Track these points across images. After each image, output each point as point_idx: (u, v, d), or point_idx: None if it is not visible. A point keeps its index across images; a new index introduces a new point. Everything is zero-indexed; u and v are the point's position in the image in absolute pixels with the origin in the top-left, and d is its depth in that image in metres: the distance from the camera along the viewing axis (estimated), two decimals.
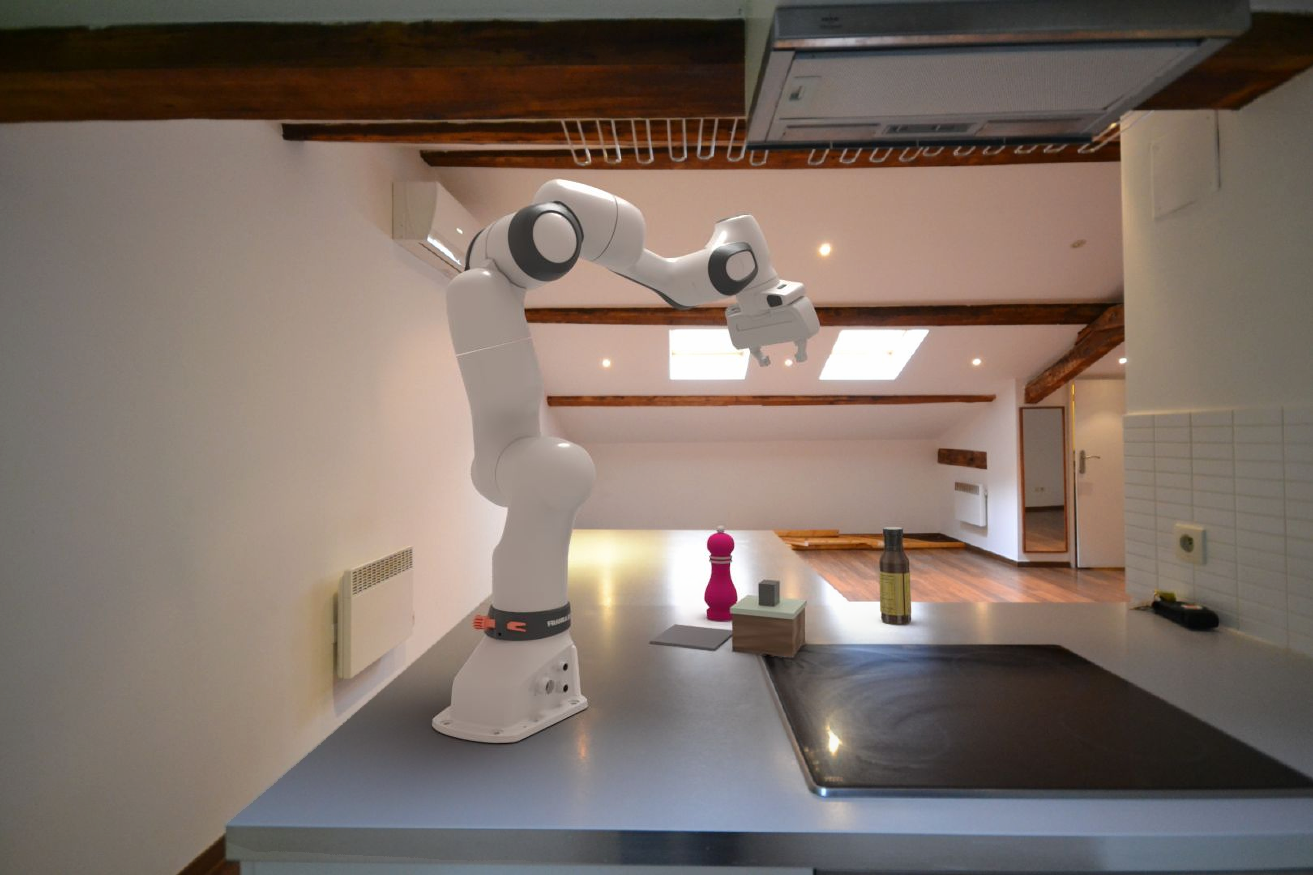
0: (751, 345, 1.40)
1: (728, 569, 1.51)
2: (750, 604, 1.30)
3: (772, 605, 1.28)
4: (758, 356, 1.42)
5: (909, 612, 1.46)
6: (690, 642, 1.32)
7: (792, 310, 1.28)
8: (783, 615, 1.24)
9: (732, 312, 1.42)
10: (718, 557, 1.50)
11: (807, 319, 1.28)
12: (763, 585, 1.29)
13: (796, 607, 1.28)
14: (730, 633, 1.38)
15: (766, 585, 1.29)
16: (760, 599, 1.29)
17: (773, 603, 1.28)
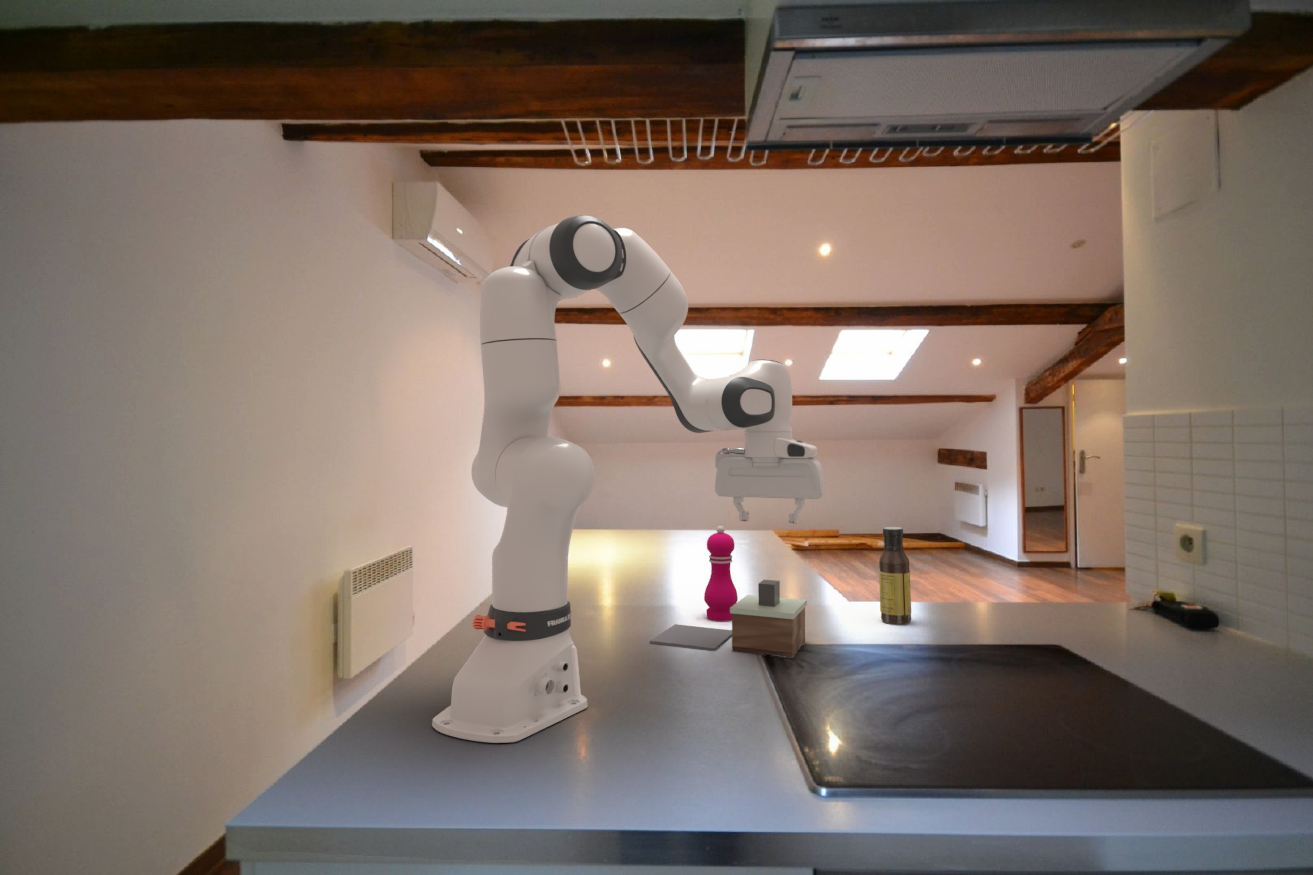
0: (740, 493, 1.31)
1: (728, 569, 1.51)
2: (750, 604, 1.30)
3: (772, 605, 1.28)
4: (740, 508, 1.32)
5: (909, 612, 1.46)
6: (690, 642, 1.32)
7: (811, 465, 1.25)
8: (783, 615, 1.24)
9: (726, 456, 1.34)
10: (718, 557, 1.50)
11: (820, 479, 1.26)
12: (763, 585, 1.29)
13: (796, 607, 1.28)
14: (730, 633, 1.38)
15: (766, 585, 1.29)
16: (760, 599, 1.29)
17: (773, 603, 1.28)
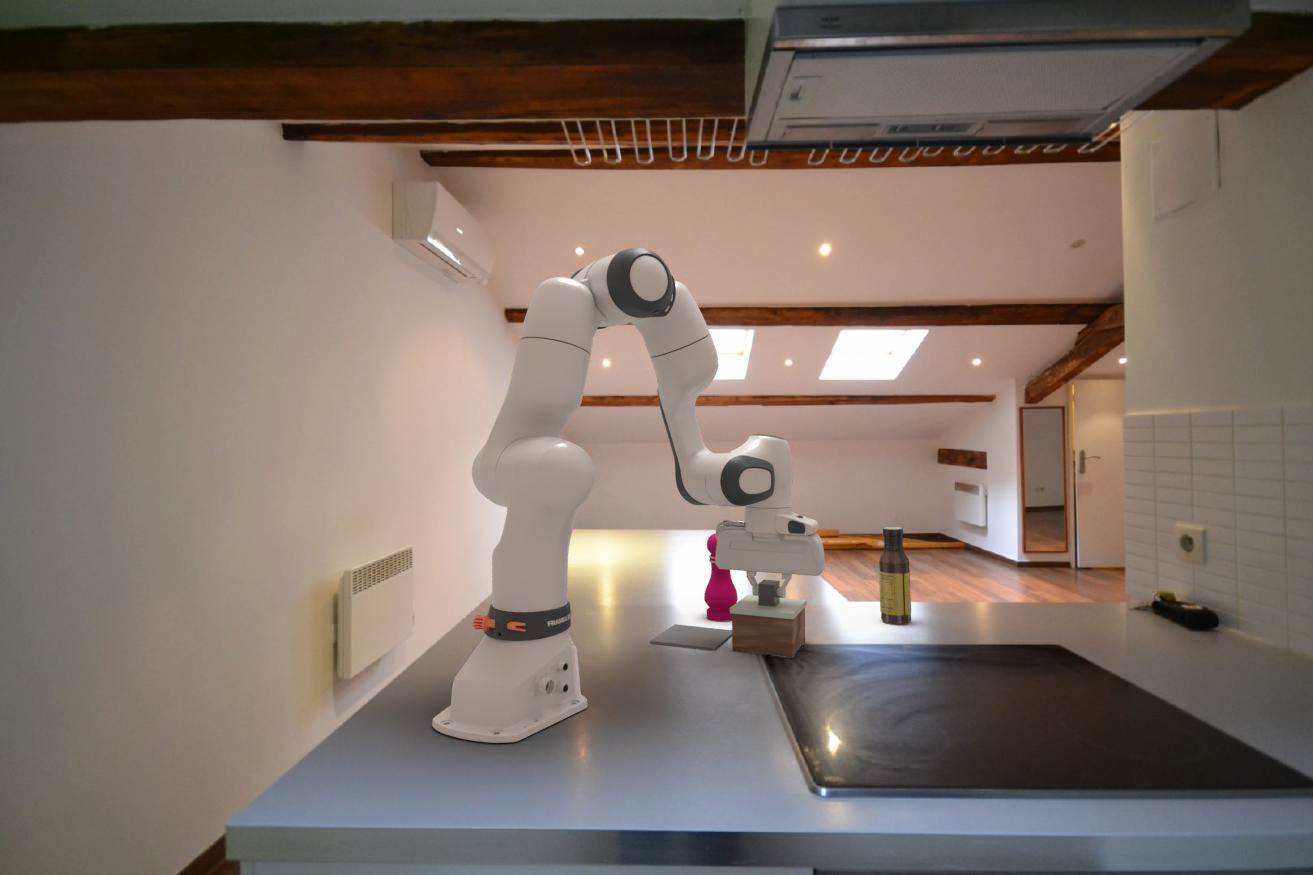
0: (741, 567, 1.31)
1: None
2: (750, 604, 1.30)
3: (772, 605, 1.28)
4: (754, 582, 1.31)
5: (909, 612, 1.46)
6: (690, 642, 1.32)
7: (811, 542, 1.25)
8: (783, 615, 1.24)
9: (727, 528, 1.34)
10: None
11: (821, 556, 1.26)
12: (763, 585, 1.29)
13: (796, 607, 1.28)
14: (730, 633, 1.38)
15: (766, 585, 1.29)
16: (760, 599, 1.29)
17: (773, 603, 1.28)
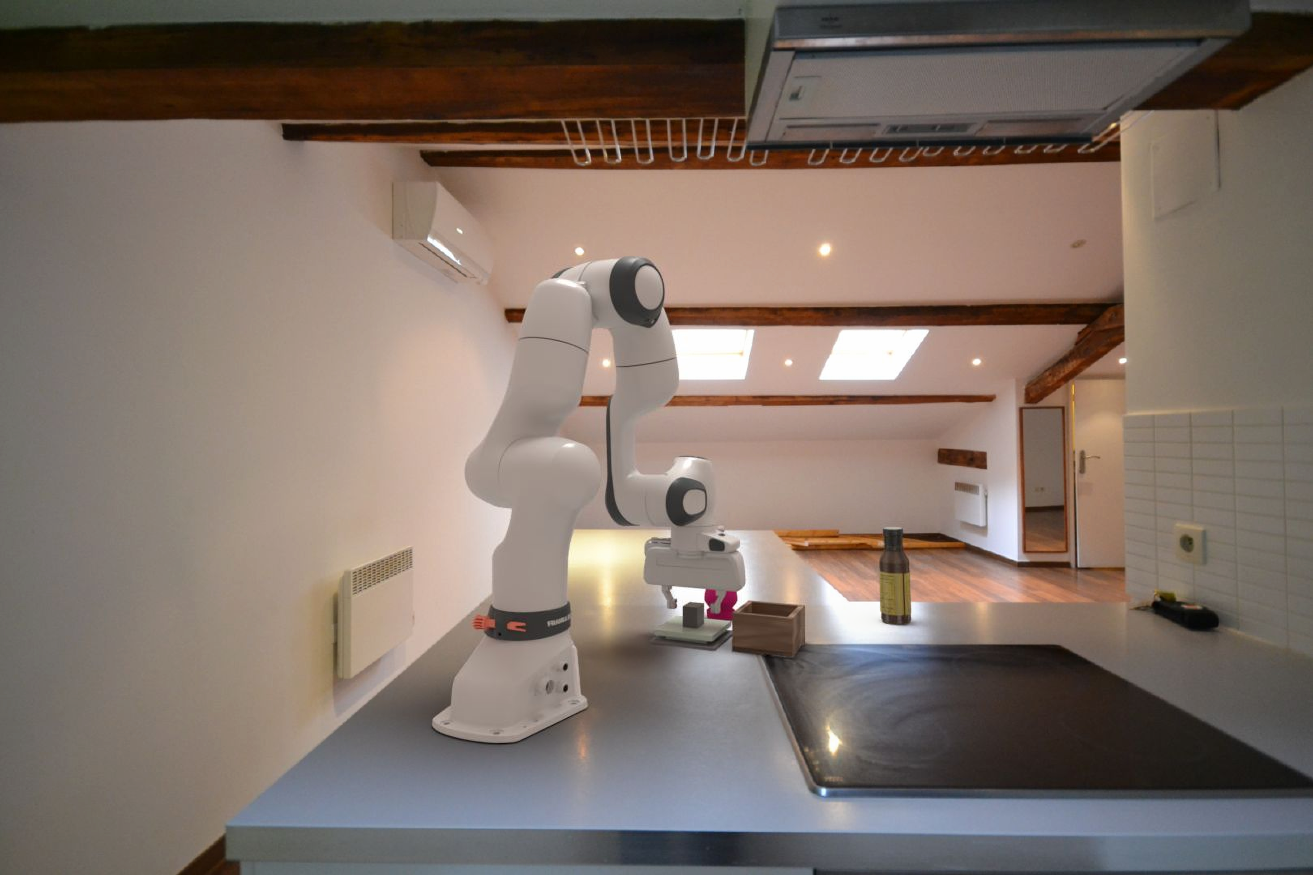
0: (666, 583, 1.37)
1: None
2: (675, 626, 1.36)
3: (695, 627, 1.34)
4: (668, 596, 1.38)
5: (909, 612, 1.46)
6: (690, 642, 1.32)
7: (731, 560, 1.31)
8: (703, 637, 1.30)
9: (654, 545, 1.40)
10: None
11: (740, 572, 1.32)
12: (687, 608, 1.35)
13: (717, 629, 1.34)
14: (730, 633, 1.38)
15: (689, 608, 1.35)
16: (684, 621, 1.35)
17: (696, 625, 1.34)
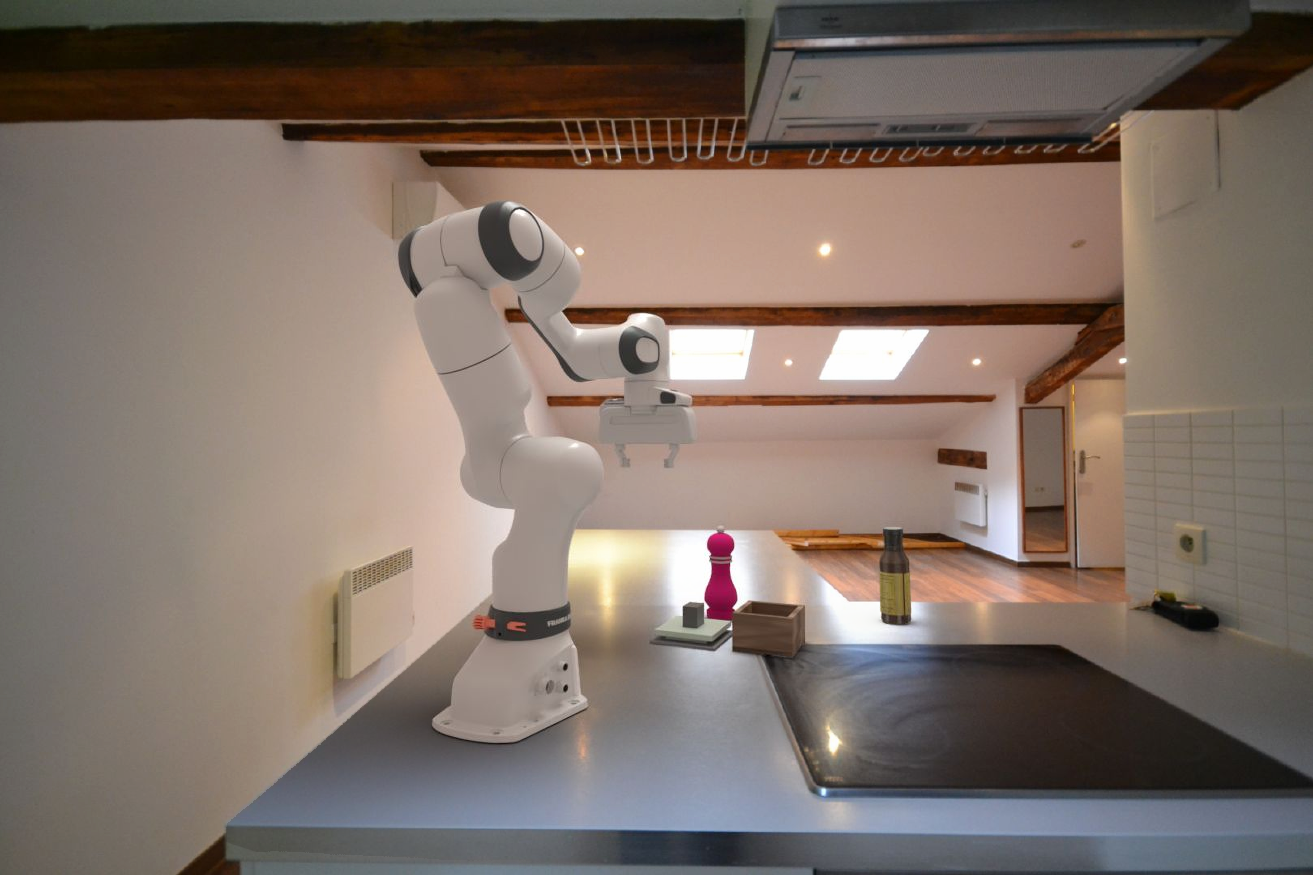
0: (620, 441, 1.39)
1: (728, 569, 1.51)
2: (675, 626, 1.36)
3: (695, 627, 1.34)
4: (621, 455, 1.40)
5: (909, 612, 1.46)
6: (690, 642, 1.32)
7: (682, 412, 1.33)
8: (703, 637, 1.30)
9: (609, 406, 1.41)
10: (718, 557, 1.50)
11: (691, 425, 1.34)
12: (687, 608, 1.35)
13: (717, 629, 1.34)
14: (730, 633, 1.38)
15: (689, 608, 1.35)
16: (684, 621, 1.35)
17: (696, 625, 1.34)
